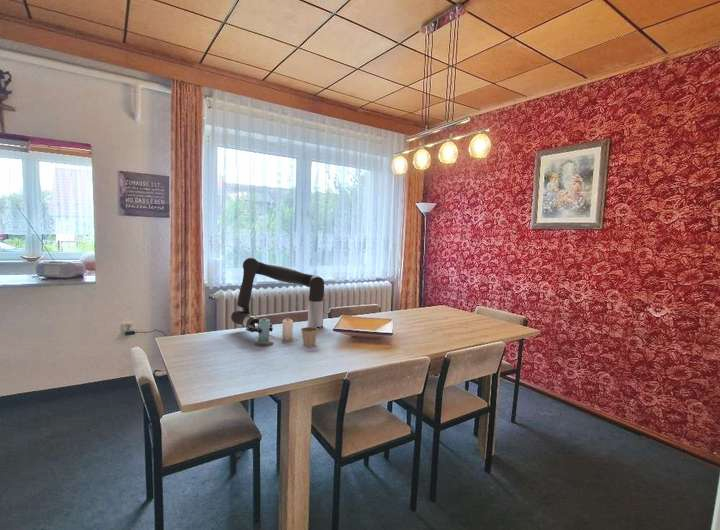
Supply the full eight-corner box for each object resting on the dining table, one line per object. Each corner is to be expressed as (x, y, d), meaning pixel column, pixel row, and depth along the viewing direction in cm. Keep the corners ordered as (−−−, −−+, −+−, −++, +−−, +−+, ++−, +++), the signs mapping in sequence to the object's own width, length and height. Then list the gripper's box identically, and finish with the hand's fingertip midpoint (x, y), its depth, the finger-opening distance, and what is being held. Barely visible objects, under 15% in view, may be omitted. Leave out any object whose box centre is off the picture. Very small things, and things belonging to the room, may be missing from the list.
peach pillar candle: (289, 337, 200) (289, 317, 199) (294, 340, 195) (294, 319, 194) (280, 339, 196) (280, 318, 195) (285, 341, 192) (285, 320, 191)
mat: (268, 340, 193) (268, 339, 193) (277, 345, 186) (277, 344, 186) (251, 344, 187) (251, 342, 187) (259, 349, 179) (259, 347, 179)
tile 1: (270, 335, 204) (270, 334, 204) (278, 339, 197) (278, 338, 197) (254, 338, 197) (254, 337, 197) (262, 342, 190) (262, 341, 190)
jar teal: (266, 338, 190) (266, 316, 189) (271, 340, 186) (271, 318, 185) (256, 339, 186) (257, 317, 185) (261, 342, 182) (261, 320, 181)
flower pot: (298, 343, 192) (298, 327, 192) (314, 341, 196) (315, 326, 196) (303, 348, 184) (303, 332, 183) (320, 346, 188) (320, 330, 187)
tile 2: (290, 337, 203) (290, 336, 203) (299, 341, 195) (299, 340, 195) (274, 339, 196) (274, 338, 196) (283, 344, 189) (283, 343, 189)
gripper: (240, 318, 191) (253, 325, 179) (264, 315, 201) (278, 321, 188) (239, 331, 192) (253, 339, 179) (264, 328, 201) (278, 335, 189)
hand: (266, 330), depth 184 cm, fingers closed on jar teal, 5 cm apart
